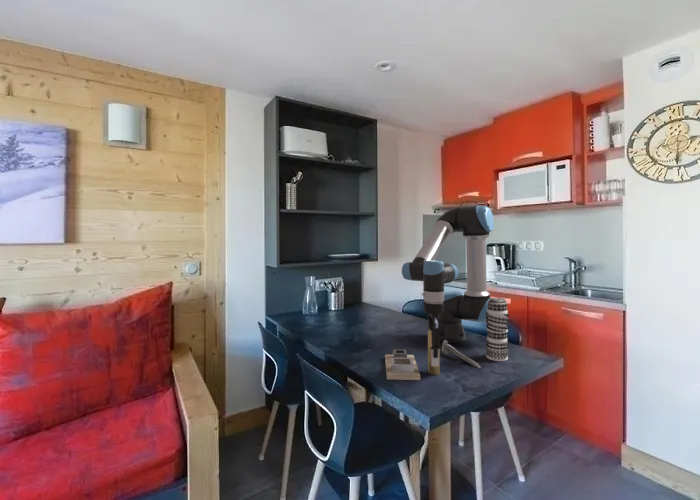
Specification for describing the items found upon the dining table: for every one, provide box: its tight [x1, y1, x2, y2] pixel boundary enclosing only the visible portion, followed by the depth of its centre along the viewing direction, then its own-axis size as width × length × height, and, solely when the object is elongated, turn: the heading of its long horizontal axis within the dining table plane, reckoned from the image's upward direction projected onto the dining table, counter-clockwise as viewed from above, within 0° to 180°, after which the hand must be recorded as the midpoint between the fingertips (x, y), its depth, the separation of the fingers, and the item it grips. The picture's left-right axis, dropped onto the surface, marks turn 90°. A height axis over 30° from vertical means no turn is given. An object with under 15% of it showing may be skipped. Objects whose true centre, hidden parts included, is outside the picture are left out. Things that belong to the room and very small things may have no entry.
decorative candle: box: [485, 297, 510, 362], centre depth 147 cm, size 9×9×25 cm
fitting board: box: [384, 349, 421, 381], centre depth 137 cm, size 22×12×4 cm, turn 176°
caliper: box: [441, 340, 482, 369], centre depth 145 cm, size 20×1×6 cm, turn 29°
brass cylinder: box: [427, 330, 441, 376], centre depth 132 cm, size 4×4×16 cm
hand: (433, 363), depth 132 cm, fingers closed on brass cylinder, 4 cm apart
